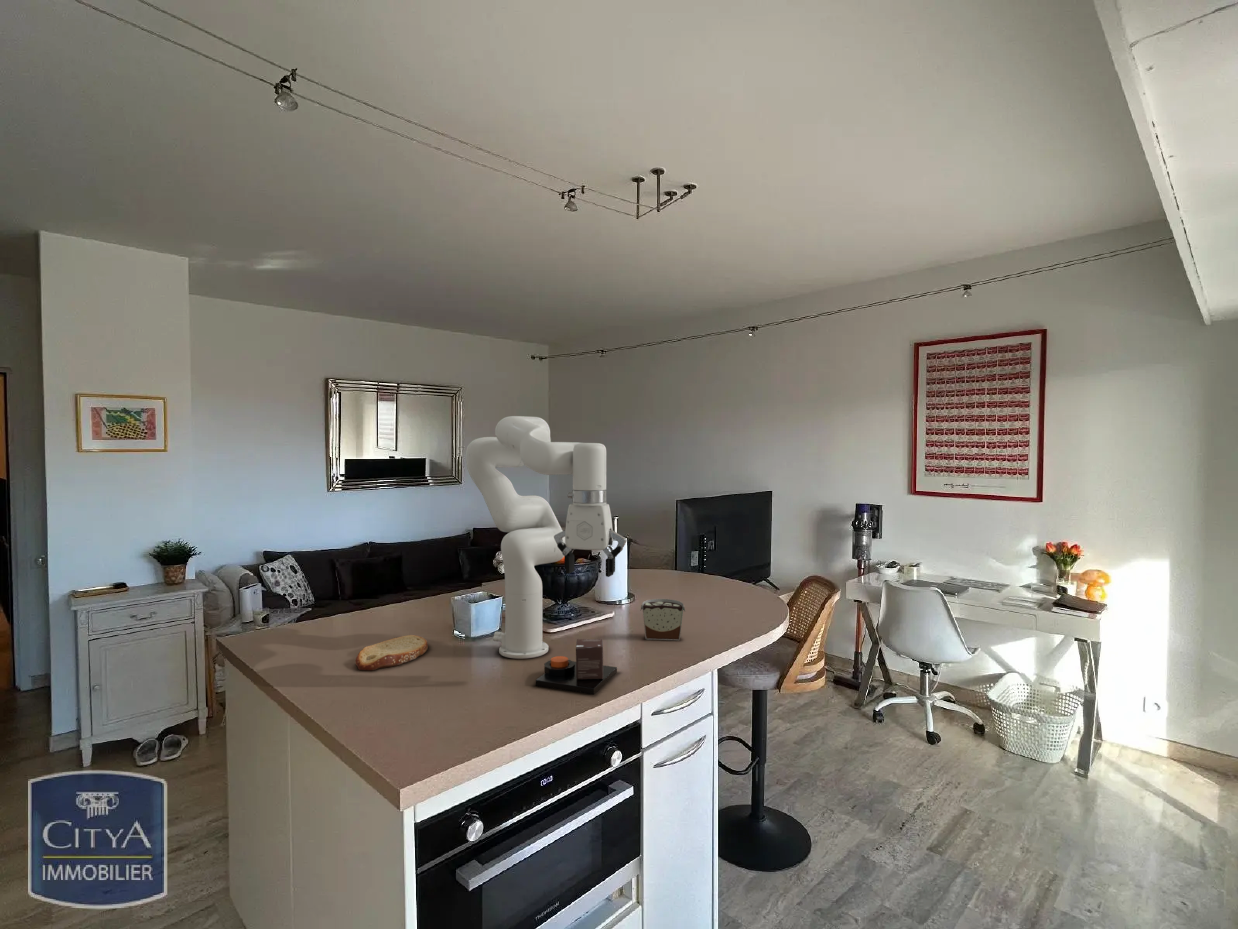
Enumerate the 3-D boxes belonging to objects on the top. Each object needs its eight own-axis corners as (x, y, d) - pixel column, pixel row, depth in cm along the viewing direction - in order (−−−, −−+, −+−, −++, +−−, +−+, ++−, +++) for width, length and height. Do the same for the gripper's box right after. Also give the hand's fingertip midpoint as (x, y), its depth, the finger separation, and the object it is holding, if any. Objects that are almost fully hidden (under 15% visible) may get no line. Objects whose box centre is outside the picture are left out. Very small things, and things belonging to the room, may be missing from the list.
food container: (685, 634, 177) (685, 599, 176) (685, 640, 171) (685, 604, 170) (641, 632, 178) (641, 597, 178) (640, 639, 172) (640, 603, 172)
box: (603, 670, 144) (603, 638, 144) (603, 680, 138) (603, 647, 138) (576, 670, 144) (576, 638, 143) (575, 680, 138) (575, 647, 137)
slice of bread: (424, 641, 169) (424, 627, 169) (435, 662, 153) (435, 647, 153) (353, 650, 162) (352, 636, 162) (356, 673, 146) (356, 657, 145)
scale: (531, 685, 138) (531, 672, 138) (559, 665, 151) (559, 653, 151) (593, 695, 133) (593, 681, 133) (617, 673, 146) (617, 660, 146)
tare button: (547, 667, 142) (547, 660, 142) (555, 661, 146) (555, 655, 146) (563, 669, 141) (563, 663, 141) (571, 664, 145) (571, 657, 144)
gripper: (547, 498, 139) (547, 574, 140) (619, 500, 133) (619, 580, 134) (562, 495, 146) (562, 568, 147) (631, 498, 140) (631, 573, 141)
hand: (589, 574), depth 140 cm, fingers open, 9 cm apart
